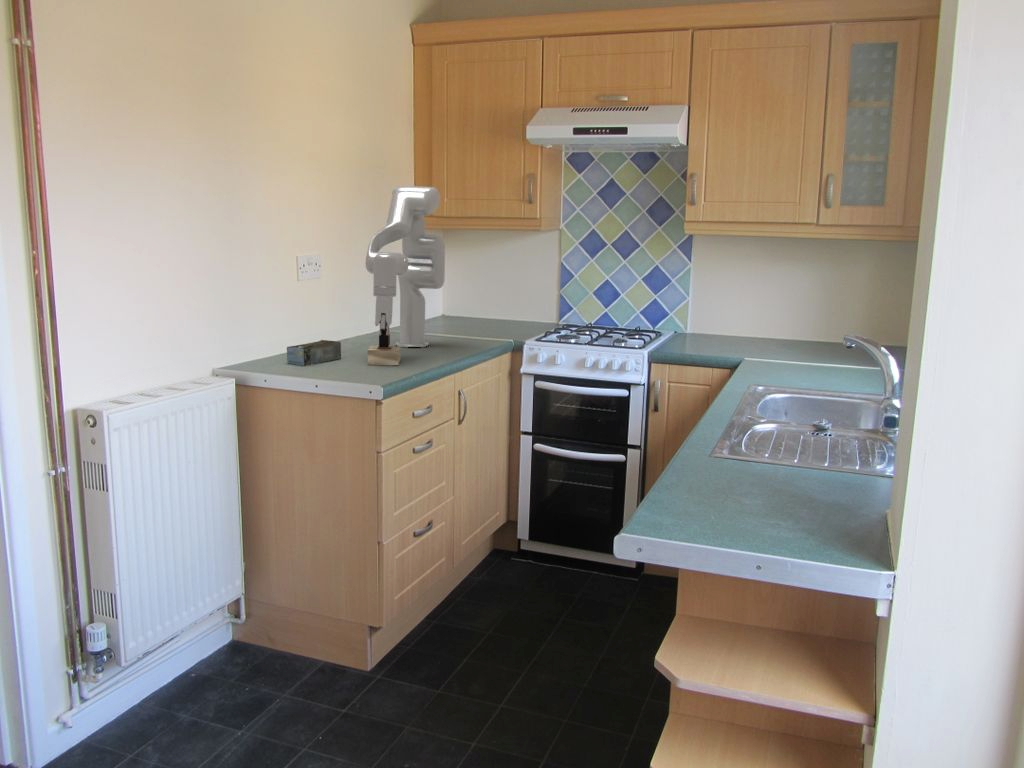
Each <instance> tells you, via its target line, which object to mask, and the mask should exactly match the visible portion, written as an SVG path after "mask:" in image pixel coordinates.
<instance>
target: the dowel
mask: <svg viewBox="0 0 1024 768" xmlns="http://www.w3.org/2000/svg"><path fill="white" fill-rule="evenodd" d="M389 334H390V326H388V335H389ZM379 349H387V350H389V347H379Z"/></svg>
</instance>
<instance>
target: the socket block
mask: <svg viewBox="0 0 1024 768" xmlns="http://www.w3.org/2000/svg"><path fill="white" fill-rule="evenodd" d="M399 362H400V363H401V347H400V346H396V345H395V346H393V345H389V350H387V349H379V345H370V346H369V347H368V349H367V366H381V365H398V366H399V365H400V363H399Z"/></svg>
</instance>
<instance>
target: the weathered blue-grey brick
mask: <svg viewBox="0 0 1024 768" xmlns="http://www.w3.org/2000/svg"><path fill="white" fill-rule="evenodd" d="M341 344H342V342H341V341H340V340H339V341H336V340H327V339H324V340H323V339H321V340H319V341H314V342H308V343H303V344H297V345H291V346H286V363H291V364H290V365H292V364H296V365H295V366H299V365H302V366H301V367H307V366H306V365H308V366H312V365H311V364H313V365H317V364H316V363H318V364H322V362H323V363H327V362H331V361H336V360H340V359H342V345H341Z"/></svg>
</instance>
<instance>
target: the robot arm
mask: <svg viewBox="0 0 1024 768" xmlns="http://www.w3.org/2000/svg"><path fill="white" fill-rule="evenodd" d="M391 196H392V197H391V200H390V205H389V210H388V214H387V220H386V224H385V226H384V227H382V228H381V229H380V230H378V232H377V233H375V234H374V236H373V237H372V238H371V240H370V241H369V244H368V245H367V246H368V247H367V252H366V255H365V256H366V257H365V269H366V270H367V272H369V274H372V275H373V286H372V287H373V290H372V291H373V293H372V294H373V296H374V297H376V298H375V316H374V317H375V321H374V325H375V327H378V326H379V335H378V346H379V347H389V346H391V343H390V342H391V334H390V333H389V335H388V326H389V327H390V326H391V325H392V322H393V303H394V301H393V300H394V299H393V298H394V297H397V278H398V283H399V285H398V286H399V297H400V298H399V302H400V303H399V340H398V341H397V340H396V341H395V346H396V345H397V346H400V348H408V347H421V348H426V346H427V347H429V346H428V345H429V342H427V341H425V340H426V339H425V338H426V336H425V335H426V334H425V333H426V330H425V329H426V298H425V296H424V294H423V293H422V291H421V290H420V289H428V290H431V289H432V290H439V289H441V288H442V287H443V286H444V285H445V278H446V277H445V276H446V272H445V271H446V270H445V269H446V246H445V245H446V244H445V240H444V238H443V237H442V235H440V234H436V233H426V219H425V217H424V216H430V215H432V214H433V213H434V212H436V211H437V210H438V208H439V206H440V202H441V195H440V192H439V190H438V189H437V188H436V187H433V186H418V185H417V186H416V185H401V186H396V187H395V188H394V189H393V190H392V193H391ZM399 240H401V246H402V252H401V253H400V252H391V251H390V252H388V251H387V252H385V251H384V252H383V251H380V250H381V249H382V248H383V247H385V246H386V245H388V244H391V243H394V242H396V241H399ZM409 259H413V260H430V261H431V263H428V262H411V261H410V262H409Z"/></svg>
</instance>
